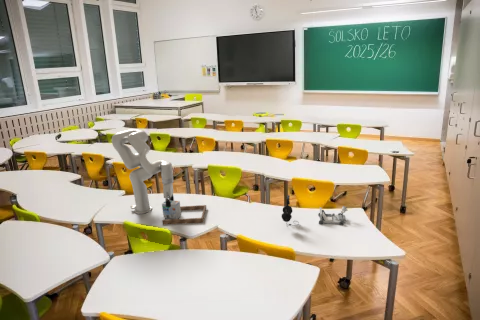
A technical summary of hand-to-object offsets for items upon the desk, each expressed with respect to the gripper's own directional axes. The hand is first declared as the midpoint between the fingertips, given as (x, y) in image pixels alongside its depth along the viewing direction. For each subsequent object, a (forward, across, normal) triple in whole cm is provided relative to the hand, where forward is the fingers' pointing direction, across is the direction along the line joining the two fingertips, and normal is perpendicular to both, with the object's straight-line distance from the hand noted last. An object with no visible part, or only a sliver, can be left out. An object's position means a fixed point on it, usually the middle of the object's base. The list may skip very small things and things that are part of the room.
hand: (170, 203), depth 231 cm
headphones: (+7, +22, +80) cm, 84 cm away
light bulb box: (+10, 0, +1) cm, 10 cm away
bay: (+10, +1, +10) cm, 14 cm away
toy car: (+7, +18, +108) cm, 109 cm away
